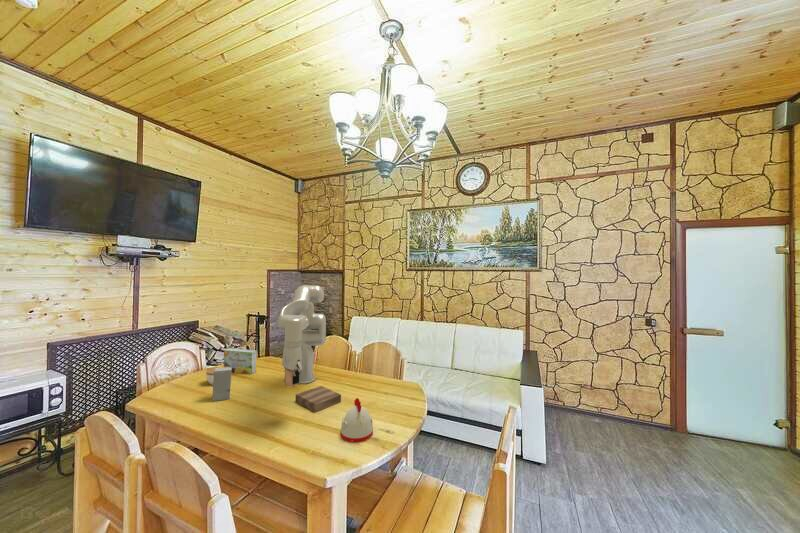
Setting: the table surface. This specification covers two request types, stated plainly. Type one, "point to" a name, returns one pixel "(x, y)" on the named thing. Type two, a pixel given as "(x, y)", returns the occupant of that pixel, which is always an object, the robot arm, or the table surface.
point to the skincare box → (221, 383)
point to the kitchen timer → (357, 424)
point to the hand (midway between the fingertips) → (291, 381)
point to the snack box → (240, 360)
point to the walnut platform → (318, 398)
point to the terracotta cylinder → (289, 377)
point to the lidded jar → (210, 375)
